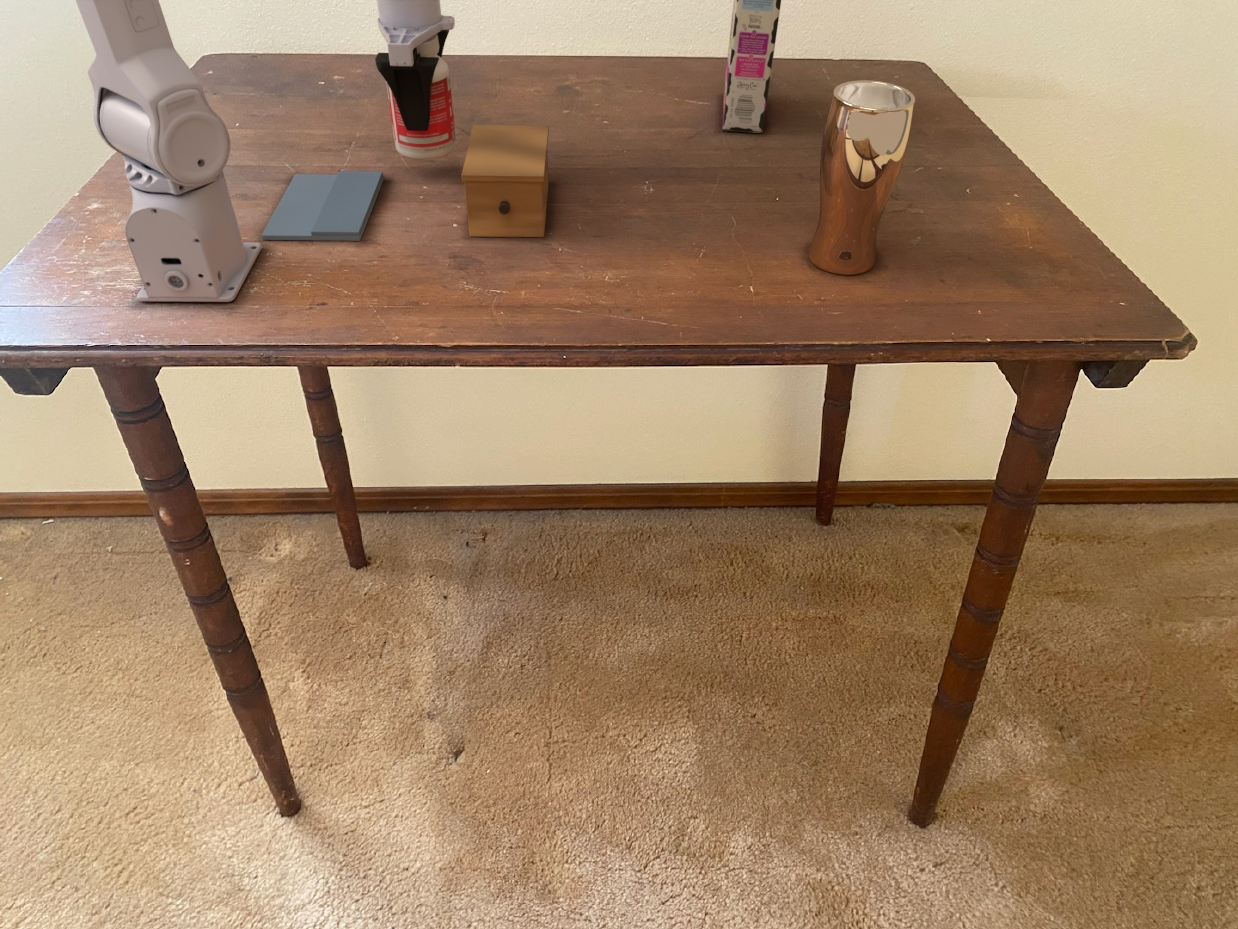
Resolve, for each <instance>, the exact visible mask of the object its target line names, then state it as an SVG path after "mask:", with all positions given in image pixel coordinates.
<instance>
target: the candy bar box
mask: <svg viewBox="0 0 1238 929" xmlns="http://www.w3.org/2000/svg"><path fill="white" fill-rule="evenodd" d="M781 5H782V0H733V4H732V12H731V20H730V29H729V30H730V32H729V40H728V48H727V58H726V59H727V60H726V67H725V68H726V69H725V79H724V88H723V102H722V103H723V104H722V106H723V107H722V109H723V110H722V130H723V131H727V132H738V133H739V132H740V133H751V134H752V133H753V134H762V133H763V132H764V125H765V118H766V113H767V112H766V110H767V103H768V99H769V98H768V97H769V90H770V83H771V77H772V69H773V64H774V63H773V61H774V55H775V48H776V41H777V35H778V26H779V21H780V20H779V19H780V14H781V13H780V12H781Z"/></svg>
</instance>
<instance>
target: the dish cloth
mask: <svg viewBox="0 0 1238 929" xmlns="http://www.w3.org/2000/svg"><path fill="white" fill-rule="evenodd" d="M384 179H385V178H384V172H383V171H382V170H339V171H338V173H337V174H335V173H334V174H327V173H325V174H324V173H323V174H322V173H321V174H320V173H295V174H294V175H293V177H292V179H291V181H290V183H289V184H288V186H287V188H286V190H285V192H284V194H283V195H282V197H281V199H280V200H279V203H278V205H277V207H276V208H275V210H274V212H273V214H272V215H271V217H270V218H269V221H268V222H267V225H266V226H265V228H264V230H263V232H262V234H261V239H262V241H332V242H333V241H334V242H335V241H336V242H337V241H338V242H340V241H341V242H343V241H344V242H345V241H346V242H348V241H349V242H350V241H351V242H352V241H353V242H360V241H361V240H362V237H363V235H364V232H365V229H366V227H367V225H368V222H369V219H370V216H371V213H372V212H373V209H374V206H375V203H376V200H377V198H378V195H379V193H380V190H381V187H382V185H383V183H384Z"/></svg>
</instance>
